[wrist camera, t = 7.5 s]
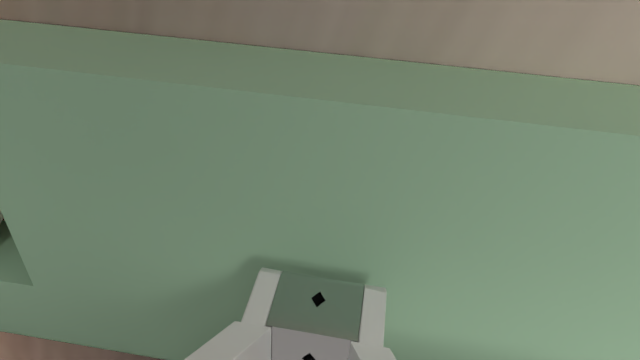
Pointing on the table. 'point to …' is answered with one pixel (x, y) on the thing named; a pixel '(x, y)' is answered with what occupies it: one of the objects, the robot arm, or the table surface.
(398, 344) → the putting strip
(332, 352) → the robot arm
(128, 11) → the table surface
